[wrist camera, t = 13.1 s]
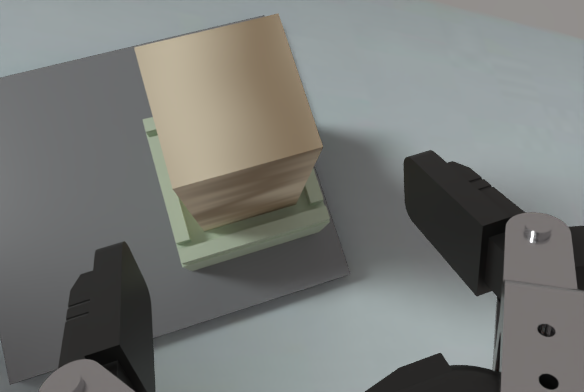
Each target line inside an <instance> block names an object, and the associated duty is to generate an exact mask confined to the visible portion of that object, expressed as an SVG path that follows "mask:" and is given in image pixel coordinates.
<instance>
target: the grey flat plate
mask: <svg viewBox="0 0 584 392" xmlns="http://www.w3.org/2000/svg"><path fill="white" fill-rule="evenodd" d="M262 17H265V16H264V15H263V16H259V17H255V18H250V19H246V20H242V21H238V22H234V23H229V24H225V25H221V26H217V27H212V28H208V29H204V30H200V31H196V32H191V33H187V34H183V35H179V36H174V37H170V38H166V39H162V40H157V41H153V42H149V43H145V44H141V45H136V46H132V47H128V48H124V49H119V50H115V51H111V52H107V53H103V54H98V55H94V56H90V57H86V58H81V59H77V60H73V61H69V62H64V63H60V64H56V65H52V66H48V67H43V68H39V69H35V70H31V71H26V72H22V73H18V74H14V75H10V76H5V77H1V78H0V337H1V342H2V347H3V353H4V358H5V363H6V368H7V373H8V378H9V383H10V384H13V383H16V382H20V381H23V380H26V379H29V378H32V377H35V376H38V375H41V374H44V373H47V372H50V371H53V370H57V369H58V365H59V359H60V353H61V346H62V340H63V333H64V327H65V322H67V321H66V314H67V309H69V308H68V302H69V295H70V290H71V288H72V287H73V285H74V284H75V282H76V281H77V279H78V277H79V276H80V274H83V273H86V272H89V271H93V265H94V256H95V251H96V250H97V249H100V248H103V247H107V246H110V245H113V244H117V243H120V242H123V241H125V242H126V243H127V245H128V246H129V248H130V250H131V252H132V254H133V257H134V259H135V261H136V263H137V265H138V267H139V269H140V271H141V273H142V275H143V278H144V280H145V282H146V284H147V287H148V290H149V294H150V298H151V307H152V328H153V338H155V337H158V336H161V335H165V334H168V333H171V332H174V331H177V330H180V329H183V328H186V327H189V326H192V325H195V324H199V323H202V322H205V321H208V320H211V319H214V318H217V317H220V316H223V315H226V314H229V313H232V312H236V311H239V310H242V309H245V308H248V307H251V306H254V305H257V304H260V303H263V302H266V301H269V300H273V299H276V298H279V297H282V296H285V295H288V294H291V293H294V292H297V291H300V290H303V289H307V288H310V287H313V286H316V285H319V284H322V283H325V282H328V281H331V280H334V279H337V278H340V277H344V276H347V275H350V271H349V268H348V265H347V262H346V259H345V256H344V253H343V250H342V247H341V244H340V241H339V238H338V235H337V232H336V229H335V226H334V223H333V220H332V217H331V214H330V211H329V208H328V205H327V202H326V199H325V196H324V193H323V190H322V187H321V184H320V181H319V178H318V175H317V172H316V169H315V166H314V167H313V168H314V171H315V174H316V177H317V180H318V183H319V186H320V189H321V192H322V195H323V198H324V200H323V202H324V205H325V206H326V207H327V210H328V213H329V216H330V219H329V220H330V223H328V224H327V225H326V226H325V227H324V228H323V229H322V230H321V231H320V232H318V233H315V234H311V235H308V236H305V237H302V238H298V239H295V240H292V241H289V242H285V243H282V244H279V245H276V246H272V247H269V248H266V249H263V250H259V251H256V252H253V253H250V254H246V255H243V256H240V257H237V258H233V259H230V260H227V261H224V262H220V263H217V264H214V265H211V266H207V267H204V268H201V269H198V270H194V271H190V270H188V269H186V268H183V267H182V264H181V260H180V257H179V253H178V249H177V246H176V242H175V238H174V235H173V231H172V227H171V224H170V220H169V216H168V212H167V209H166V205H165V201H164V198H163V194H162V190H161V187H160V183H159V179H158V176H157V172H156V168H155V164H154V161H153V157H152V153H151V150H150V146H149V142H148V139H147V135H146V131H145V128H144V124H143V120H142V119H146V118H150V117H153V116H152V112H151V108H150V105H149V101H148V97H147V94H146V90H145V86H144V83H143V79H142V75H141V72H140V68H139V64H138V61H137V57H136V53H135V50H134V47H138V46H142V45H146V44H151V43H155V42H159V41H163V40H168V39H172V38H176V37H181V36H185V35H189V34H193V33H198V32H202V31H206V30H210V29H215V28H219V27H223V26H227V25H232V24H236V23H240V22H244V21H249V20H253V19H257V18H262Z"/></svg>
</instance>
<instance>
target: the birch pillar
mask: <svg viewBox="0 0 584 392" xmlns="http://www.w3.org/2000/svg"><path fill="white" fill-rule="evenodd" d="M134 50H135V53H136V57H137V61H138V64H139V68H140V72H141V75H142V79H143V83H144V86H145V90H146V94H147V97H148V101H149V105H150V108H151V112H152V116H153V119H154V123H155V127H156V130H157V134H158V138H159V141H160V145H161V149H162V152H163V156H164V160H165V163H166V167H167V171H168V174H169V178H170V182H171V185H172V189H173V190H174V192H175V193H176V194H177V196H178V197H179V198H180V200H181V201H182V202H183V204H184V205H185V206H186V208H187V209H188V210H189V212H190V213H191V214H192V216H193V217H194V219H195V220H196V221H197V223H198V224H199V225H200V227H201V228H202V229H203V231H208V230H211V229H214V228H218V227H221V226H225V225H228V224H231V223H235V222H238V221H242V220H245V219H248V218H252V217H255V216H259V215H262V214H265V213H269V212H272V211H276V210H279V209H282V208H286V207H289V206H293V205H296V203H297V201H298V199H299V197H300V195H301V193H302V190H303V188H304V186H305V184H306V182H307V180H308V178H309V176H310V174H311V171H312V169H313V167H314V165H315V163H316V161H317V159H318V157H319V155H320V153H321V150H322V148H323V145H322V142H321V139H320V136H319V133H318V130H317V127H316V124H315V121H314V118H313V115H312V112H311V109H310V106H309V103H308V100H307V97H306V94H305V91H304V88H303V85H302V83H301V80H300V77H299V74H298V71H297V68H296V65H295V62H294V59H293V56H292V53H291V50H290V47H289V44H288V41H287V38H286V35H285V32H284V29H283V26H282V23H281V20H280V17H279V14H274V15H270V16H266V17H262V18H257V19H253V20H249V21H244V22H240V23H236V24H232V25H227V26H223V27H219V28H215V29H210V30H206V31H202V32H198V33H193V34H189V35H185V36H181V37H176V38H172V39H168V40H163V41H159V42H155V43H151V44H146V45H142V46H138V47H134Z"/></svg>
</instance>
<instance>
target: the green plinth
mask: <svg viewBox="0 0 584 392" xmlns="http://www.w3.org/2000/svg"><path fill="white" fill-rule="evenodd" d="M142 120H143V124H144V128H145V131H146V135H147V139H148V142H149V146H150V150H151V153H152V157H153V161H154V164H155V168H156V172H157V176H158V179H159V183H160V187H161V190H162V194H163V198H164V201H165V205H166V209H167V212H168V216H169V220H170V224H171V227H172V231H173V235H174V238H175V242H176V246H177V249H178V253H179V257H180V260H181V264H182V267H183V268H186V269H188V270H190V271H194V270H198V269H201V268H204V267H207V266H211V265H214V264H217V263H220V262H224V261H227V260H230V259H233V258H237V257H240V256H243V255H246V254H250V253H253V252H256V251H259V250H263V249H266V248H269V247H272V246H276V245H279V244H282V243H285V242H289V241H292V240H295V239H298V238H302V237H305V236H308V235H311V234H315V233H318V232H320V231H321V230H322V229H323V228H324V227H325V226H326V225H327V224H328V223H330V220H329V219H330V216H329V213H328V210H327V207H326V206H325V205H324V202H323V200H324V198H323V195H322V192H321V189H320V186H319V183H318V180H317V177H316V174H315V171H314V168H313V169H312V171H311V174H310V176H309V178H308V180H307V182H306V184H305V186H304V188H303V190H302V193H301V195H300V197H299V199H298V201H297V203H296V205H293V206H289V207H286V208H282V209H279V210H276V211H272V212H269V213H265V214H262V215H259V216H255V217H252V218H248V219H245V220H242V221H238V222H235V223H231V224H228V225H225V226H221V227H218V228H214V229H211V230H208V231H203V229H202V228H201V227H200V225H199V224H198V223H197V221H196V220H195V219H194V217H193V216H192V214H191V213H190V212H189V210H188V209H187V208H186V206H185V205H184V204H183V202H182V201H181V200H180V198H179V197H178V196H177V194H176V193H175V192H174V190H173V189H172V185H171V182H170V178H169V174H168V171H167V167H166V163H165V160H164V156H163V152H162V149H161V145H160V141H159V138H158V134H157V130H156V127H155V123H154V119H153V117H150V118H146V119H142Z"/></svg>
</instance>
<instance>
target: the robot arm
mask: <svg viewBox="0 0 584 392" xmlns="http://www.w3.org/2000/svg"><path fill="white" fill-rule="evenodd" d="M404 192H405V206H406V209H407V212H408V215H409V217H410V219H411V220H412V221H413V223H414V224H415V225H416V226H417V227H418V229H419V230H420V231H421V232H422V233H423V234H424V236H425V237H426V238H427V239H428V240H429V241H430V243H431V244H432V245H433V246H434V247H435V248H436V249H437V251H438V252H439V253H440V254H441V255H442V256H443V258H444V259H445V260H446V261H447V262H448V263H449V265H450V266H451V267H452V268H453V269H454V270H455V272H456V273H457V274H458V275H459V276H460V277H461V279H462V280H463V281H464V282H465V283H466V284H467V286H468V287H469V288H470V289H471V290H472V291H473V293H474V294H475V295H476V296H479V295H482V294H485V293H487V292H490V291H493V292H494V293H495V294H496V296H497V302H496V316H495V334H494V352H493V367H492V370H490V369H486V368H482V367H477V366H468V365H450V366H449V364H448V363H447V361H446V360H445V358H444V357H443V355H442V354H441V353H438V354H436V355H433V356H430V357H427V358H425V359H422V360H419V361H416V362H414V363H411V364H408V365H406V366H403V367H400V368H398V369H397V370H395V371H394V372H392V373H391V374H390V375H388V376H387V377H385V378H384V379H382V380H381V381H380V382H378V383H377V384H375V385H374V386H372V387H371V388H369V389H368V390H367V391H365V392H584V226H575V227H568V226H567V225H566V224H565V223H564V222H563V221H561V220H559V219H558V218H556V217H553V216H551V215H548V214H543V213H535V212H529V213H525V212H524V211H523V210H521V209H520V208H519V207H518V206H516V205H515V204H514V203H513V202H511V201H510V200H509V199H508V198H506V197H505V196H504V195H503V194H502V193H500V192H499V191H498V190H497V189H495V188H494V187H491V185H490V184H489V183H488V182H487V181H485V180H484V179H482V178H481V177H480V176H479V175H478V174H477V173H475V172H474V171H473V170H472V169H471V168H469V167H466V166H464V165H461V164H458V163H456V162H453V161H452V162H449V163H447V162H445V161H444V160H443V159H442V158H441V157H440V156H438V155H437V154H436V153H435V152H434V151H432V150H429V151H426V152H423V153H419V154H416V155H413V156H409V157H406V158H405V160H404ZM68 308H69V309H67V314H66V321H67V322H65V327H64V333H63V340H62V346H61V353H60V359H59V365H58V369H57V370H56V371H55V372H53V373H52V374H51V375H50V376H49V377H48V378H47V379H46V380H45V382H44V383H43V384H42V386H41V387H40V389H39V391H38V392H155V371H154V350H153V328H152V307H151V298H150V294H149V290H148V287H147V284H146V282H145V280H144V278H143V275H142V273H141V271H140V269H139V267H138V265H137V263H136V261H135V259H134V257H133V254H132V252H131V250H130V248H129V246H128V245H127V243H126V242H125V241H123V242H120V243H117V244H113V245H110V246H107V247H103V248H100V249H97V250H96V251H95V256H94V265H93V271H89V272H86V273H83V274H80V276H79V277H78V279H77V281H76V282H75V284H74V285H73V287H72V288H71V290H70V295H69V302H68Z"/></svg>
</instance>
